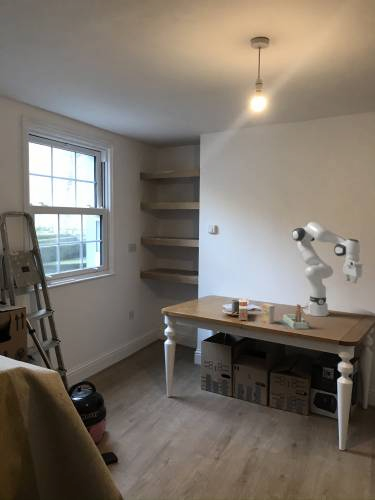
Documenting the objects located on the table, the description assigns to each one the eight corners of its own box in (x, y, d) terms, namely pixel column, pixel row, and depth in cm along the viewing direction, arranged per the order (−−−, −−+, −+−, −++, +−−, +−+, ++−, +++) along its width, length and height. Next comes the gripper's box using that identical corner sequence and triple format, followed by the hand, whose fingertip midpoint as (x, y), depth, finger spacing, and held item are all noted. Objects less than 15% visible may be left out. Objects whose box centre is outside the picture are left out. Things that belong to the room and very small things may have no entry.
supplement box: (261, 321, 278) (261, 303, 277) (266, 320, 281) (266, 303, 280) (269, 324, 271) (269, 306, 270) (274, 323, 274) (274, 305, 273)
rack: (282, 319, 282) (282, 314, 282) (296, 319, 283) (296, 314, 283) (293, 328, 259) (293, 323, 258) (308, 328, 259) (308, 322, 259)
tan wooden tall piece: (292, 323, 269) (293, 303, 267) (299, 323, 269) (300, 303, 268) (296, 326, 262) (296, 306, 260) (303, 326, 262) (304, 306, 261)
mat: (276, 320, 281) (276, 320, 281) (303, 320, 282) (303, 319, 282) (286, 329, 259) (286, 328, 259) (315, 328, 261) (315, 328, 261)
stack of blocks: (247, 321, 279) (248, 304, 278) (239, 320, 280) (239, 304, 279) (246, 314, 301) (246, 298, 300) (238, 313, 301) (238, 298, 300)
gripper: (340, 260, 276) (340, 279, 277) (355, 263, 256) (354, 284, 257) (349, 260, 277) (348, 279, 278) (364, 263, 256) (363, 284, 257)
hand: (351, 281), depth 267 cm, fingers open, 8 cm apart
